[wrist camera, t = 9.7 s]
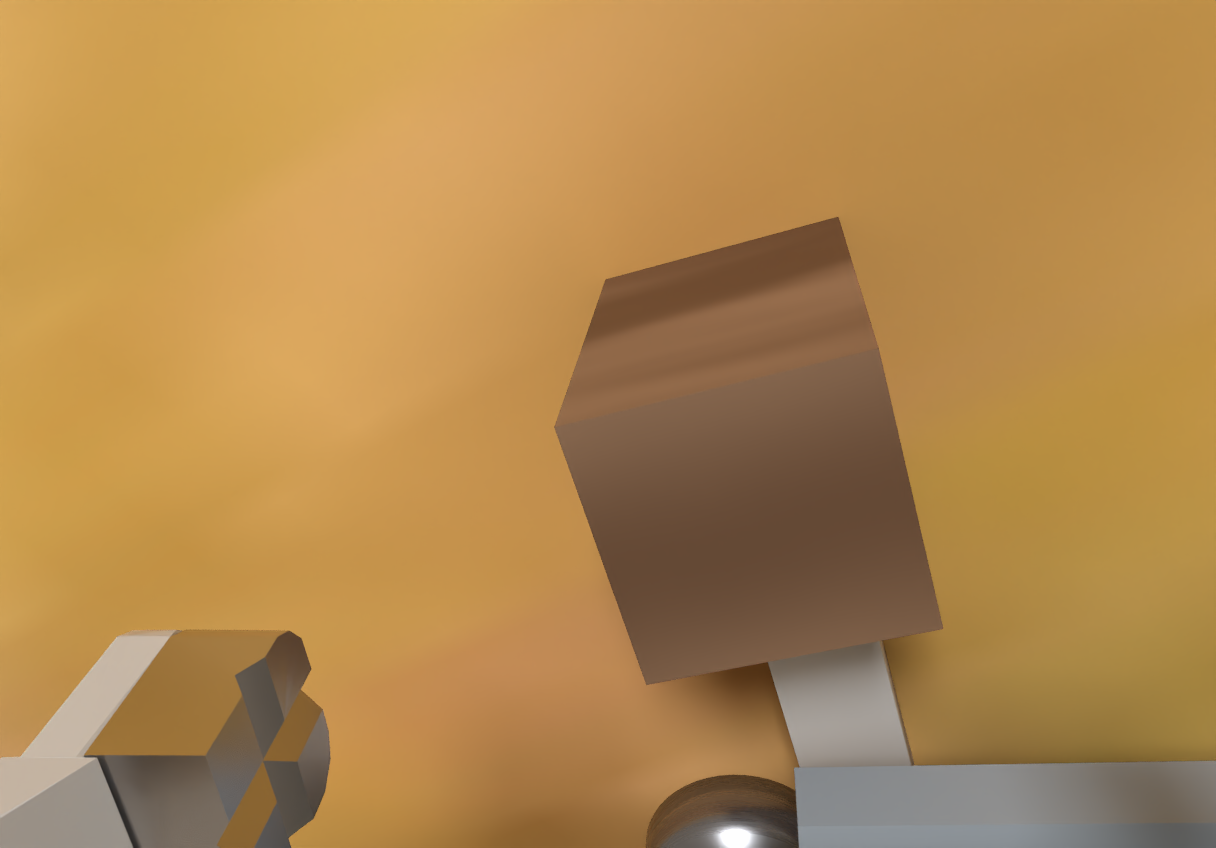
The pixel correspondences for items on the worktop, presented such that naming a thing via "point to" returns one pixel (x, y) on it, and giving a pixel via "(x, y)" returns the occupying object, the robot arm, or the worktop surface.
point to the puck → (727, 815)
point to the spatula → (754, 483)
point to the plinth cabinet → (1009, 805)
